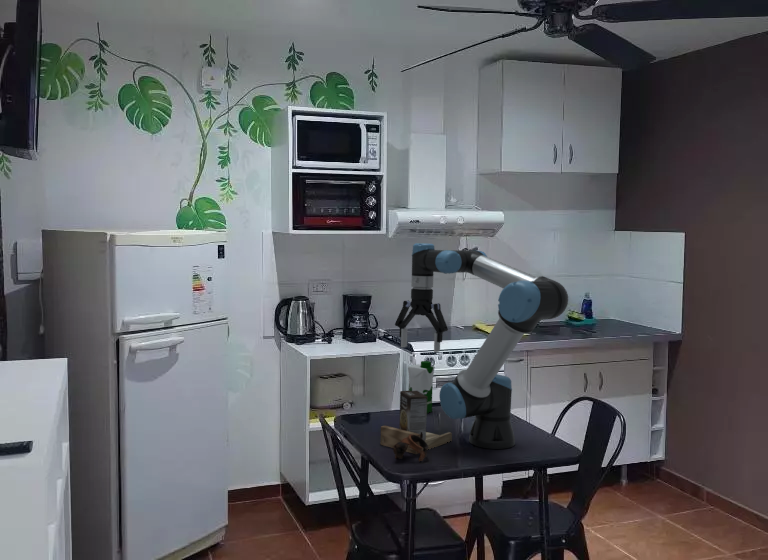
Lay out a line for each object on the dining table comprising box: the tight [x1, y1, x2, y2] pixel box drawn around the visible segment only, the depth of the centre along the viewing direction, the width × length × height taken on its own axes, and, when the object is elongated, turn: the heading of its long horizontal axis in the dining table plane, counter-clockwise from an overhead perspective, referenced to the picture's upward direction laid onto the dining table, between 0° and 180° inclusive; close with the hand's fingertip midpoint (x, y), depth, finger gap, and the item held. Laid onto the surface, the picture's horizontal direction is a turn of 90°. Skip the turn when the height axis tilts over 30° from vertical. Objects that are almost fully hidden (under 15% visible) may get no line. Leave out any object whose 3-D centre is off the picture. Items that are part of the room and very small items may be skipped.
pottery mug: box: [392, 434, 429, 462], centre depth 219 cm, size 12×10×8 cm
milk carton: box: [407, 360, 436, 414], centre depth 277 cm, size 9×9×20 cm
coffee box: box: [398, 390, 428, 441], centre depth 234 cm, size 9×6×16 cm
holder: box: [379, 425, 453, 455], centre depth 236 cm, size 15×20×6 cm
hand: (420, 349), depth 247 cm, fingers open, 13 cm apart
